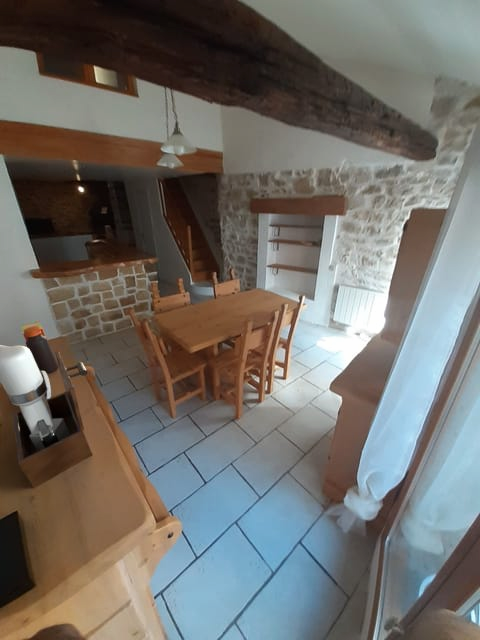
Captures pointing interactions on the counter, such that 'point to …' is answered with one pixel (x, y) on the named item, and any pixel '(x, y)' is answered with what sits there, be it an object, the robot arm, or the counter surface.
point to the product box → (58, 429)
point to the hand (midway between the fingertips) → (50, 435)
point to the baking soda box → (32, 326)
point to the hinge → (46, 380)
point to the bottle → (40, 350)
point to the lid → (71, 385)
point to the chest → (56, 455)
